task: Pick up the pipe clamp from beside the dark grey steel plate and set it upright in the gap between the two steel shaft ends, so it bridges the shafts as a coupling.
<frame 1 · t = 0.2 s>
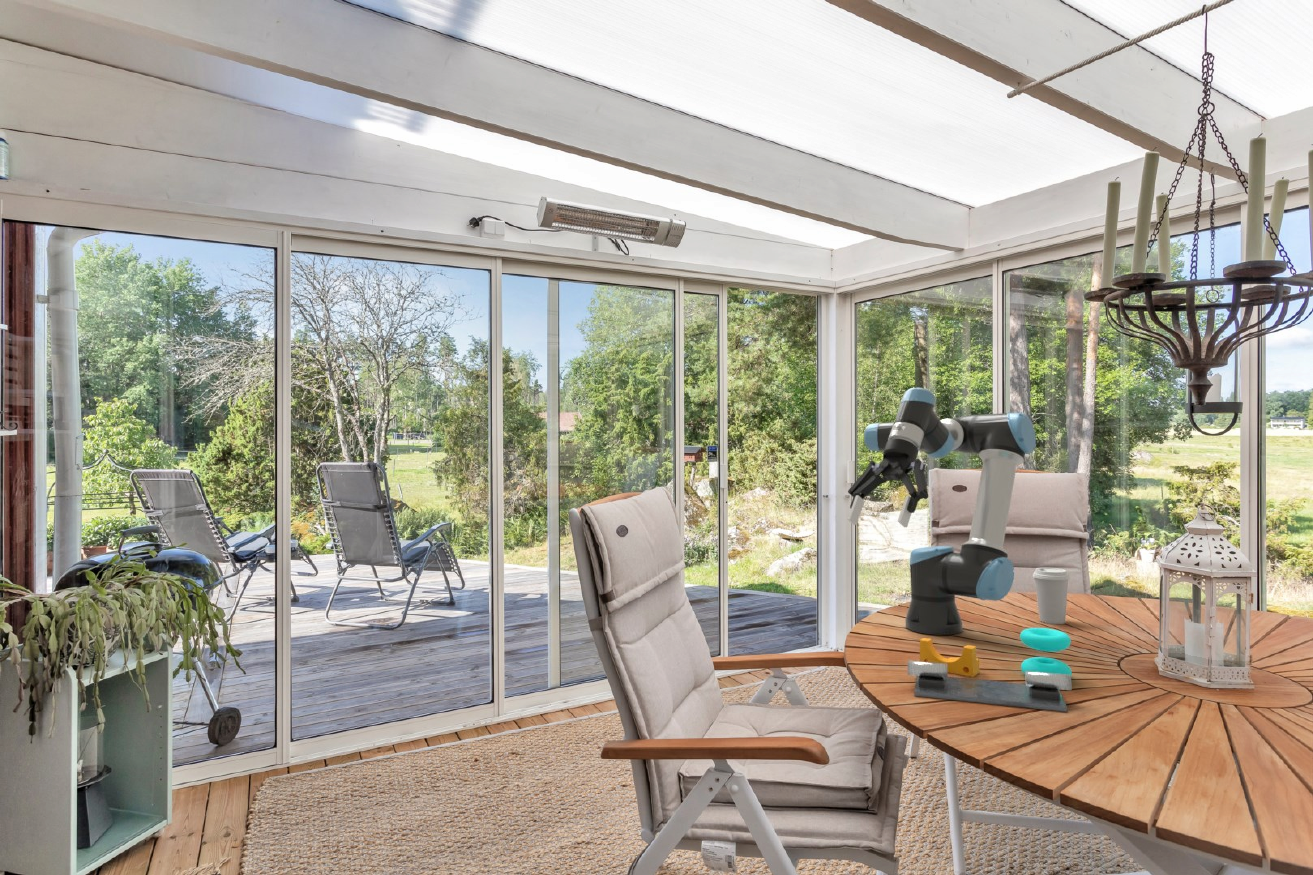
hand: (876, 523, 160), 35 cm above the table, tool tilted 35°, fingers open, 13 cm apart
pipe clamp: (949, 670, 164), on the table
donuts: (1046, 677, 158), on the table
shaft stand: (986, 693, 148), on the table
coffee cup: (1052, 622, 205), on the table
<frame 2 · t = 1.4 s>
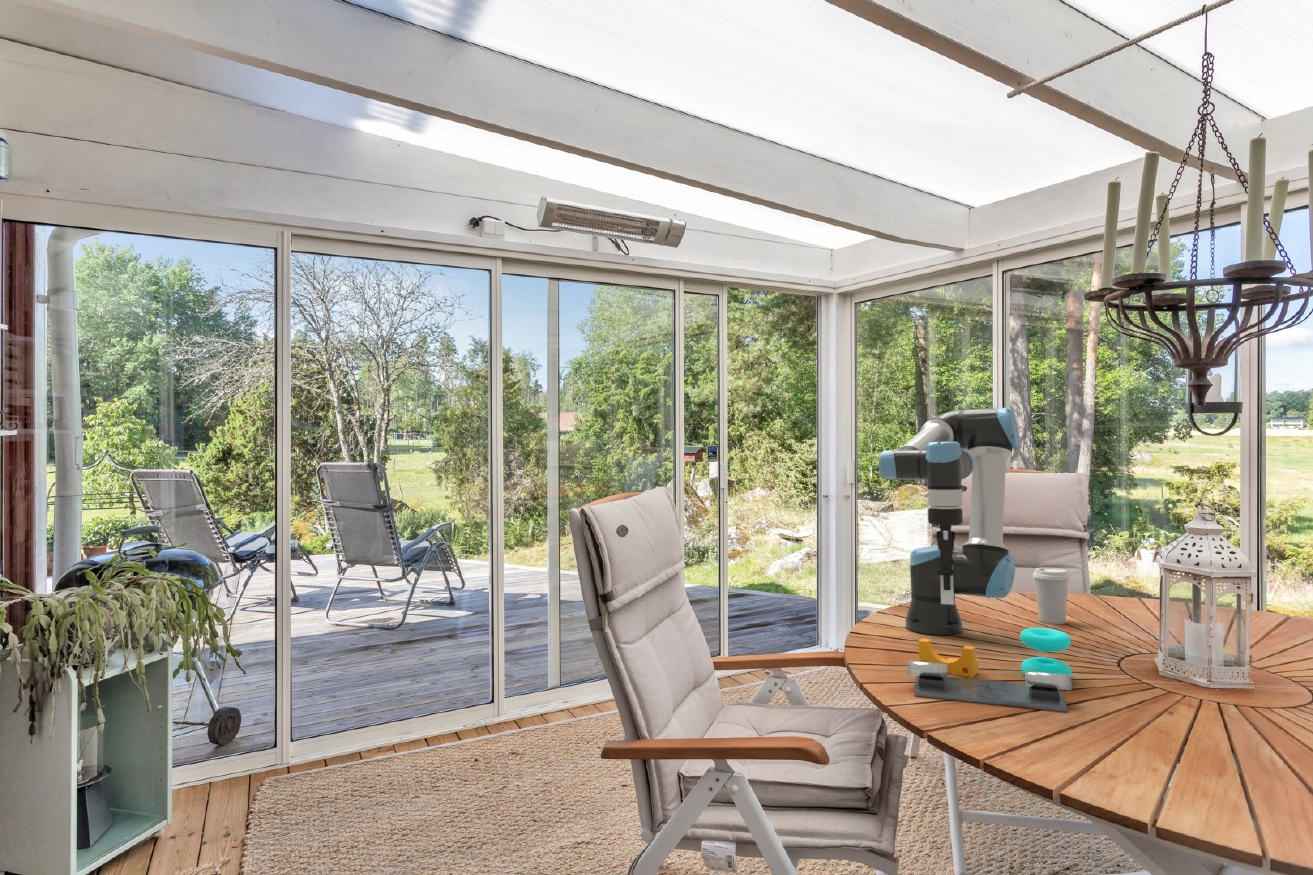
hand: (947, 597, 165), 17 cm above the table, tool pointing down, fingers open, 13 cm apart
nothing on the table moved.
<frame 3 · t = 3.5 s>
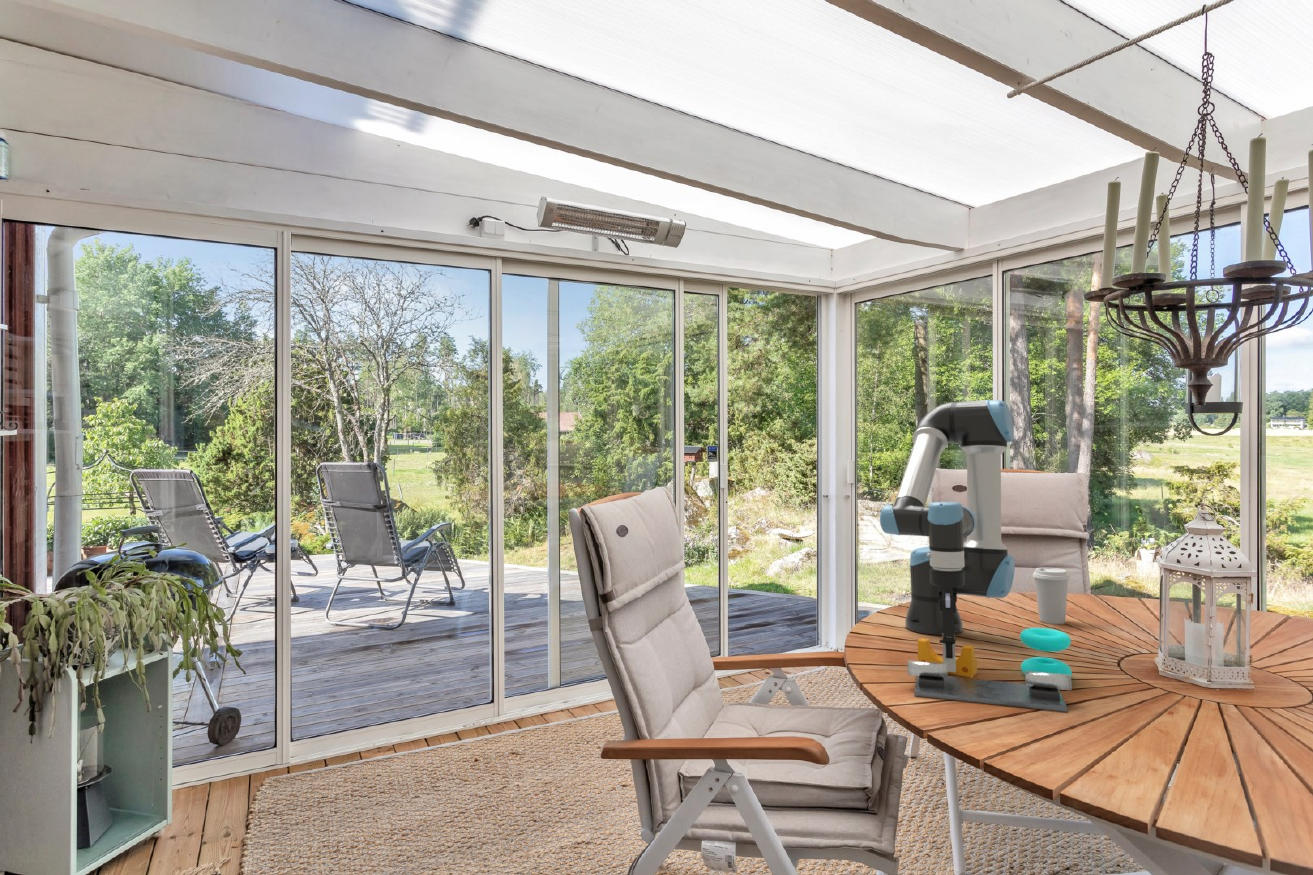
hand: (949, 665, 164), 1 cm above the table, tool pointing down, fingers open, 7 cm apart
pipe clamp: (947, 670, 164), on the table, touching gripper
everything else where it was.
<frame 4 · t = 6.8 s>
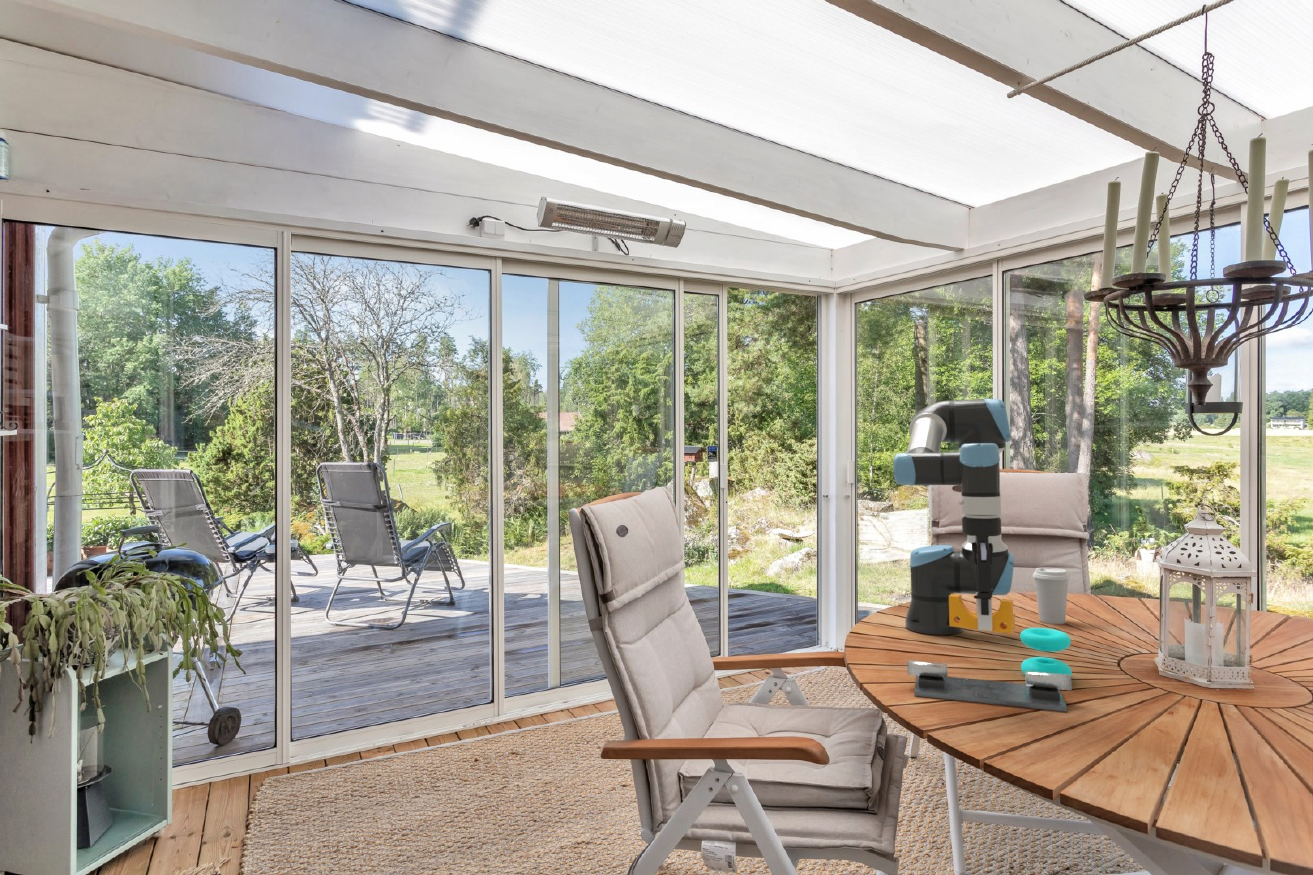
hand: (984, 626, 148), 14 cm above the table, tool pointing down, fingers closed on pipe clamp, 5 cm apart
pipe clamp: (982, 628, 148), point 14 cm above the table, touching gripper
everything else where it was.
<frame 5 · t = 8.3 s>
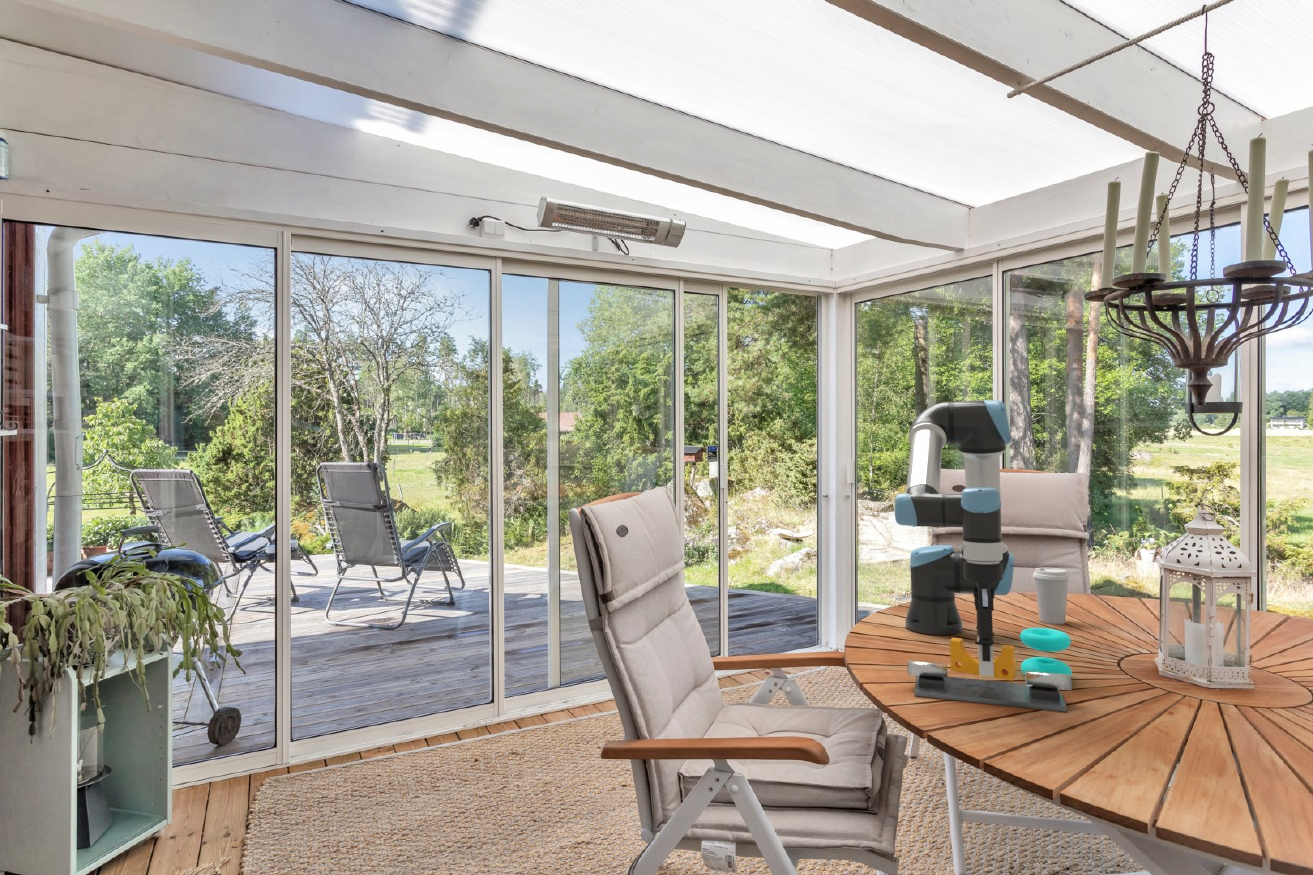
hand: (985, 671, 148), 5 cm above the table, tool pointing down, fingers closed on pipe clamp, 5 cm apart
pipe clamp: (983, 673, 148), point 4 cm above the table, touching gripper
everything else where it was.
when the fingers open (2 cm above the table, at t = 9.5 s): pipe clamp stays where it is, resting on shaft stand.
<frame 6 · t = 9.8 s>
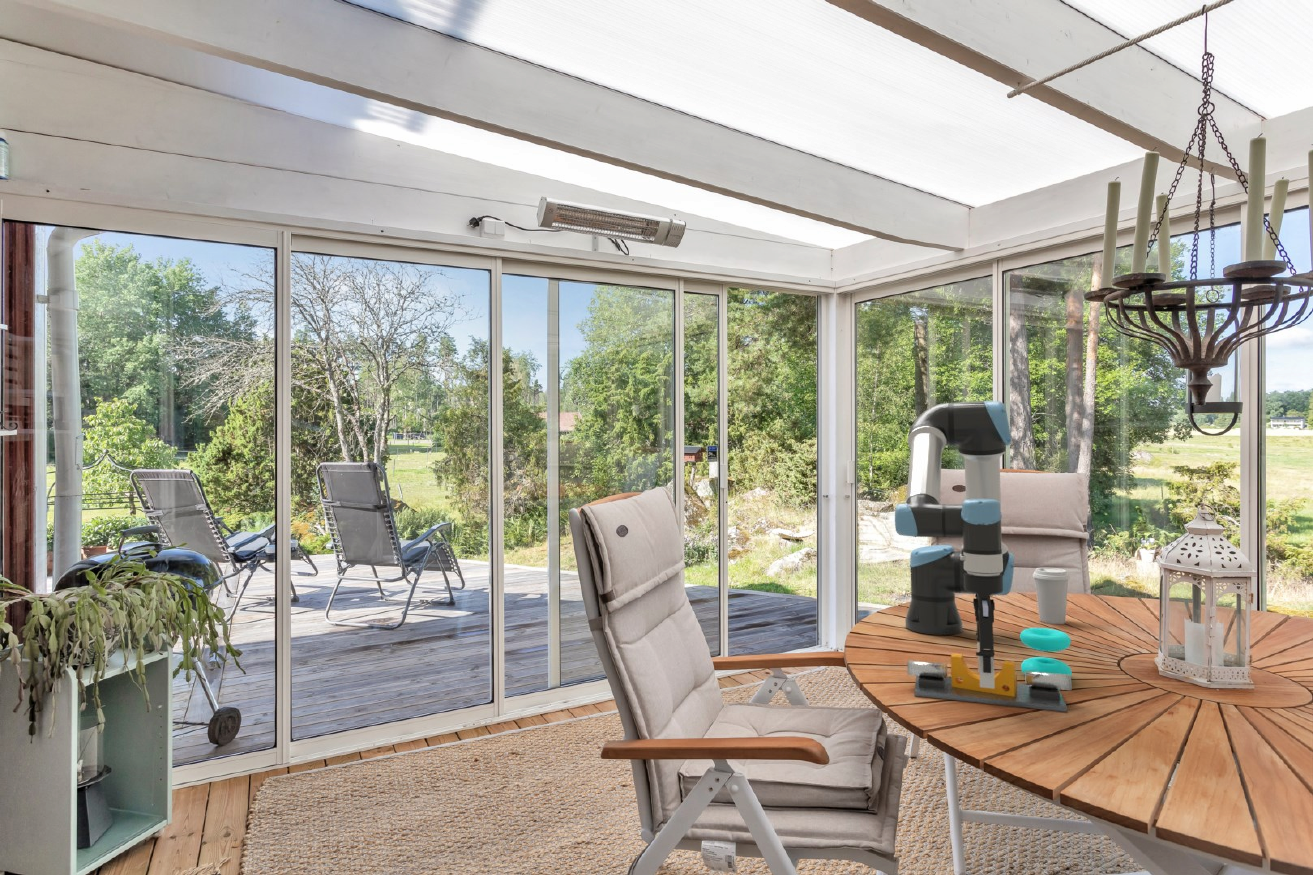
hand: (986, 680, 148), 3 cm above the table, tool pointing down, fingers open, 8 cm apart
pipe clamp: (984, 689, 148), point 1 cm above the table, touching shaft stand
everything else where it was.
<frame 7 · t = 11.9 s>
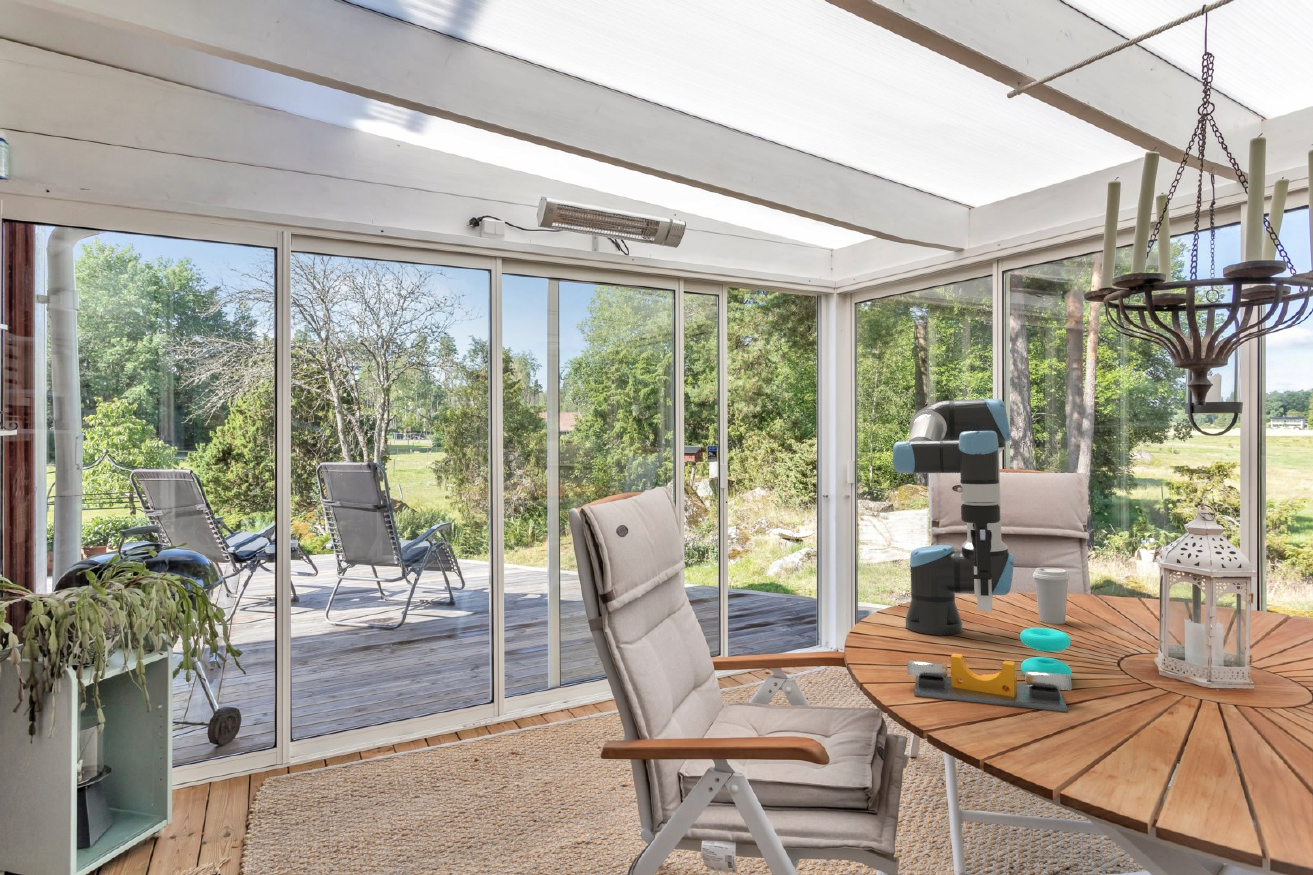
hand: (983, 603, 149), 19 cm above the table, tool pointing down, fingers open, 13 cm apart
nothing on the table moved.
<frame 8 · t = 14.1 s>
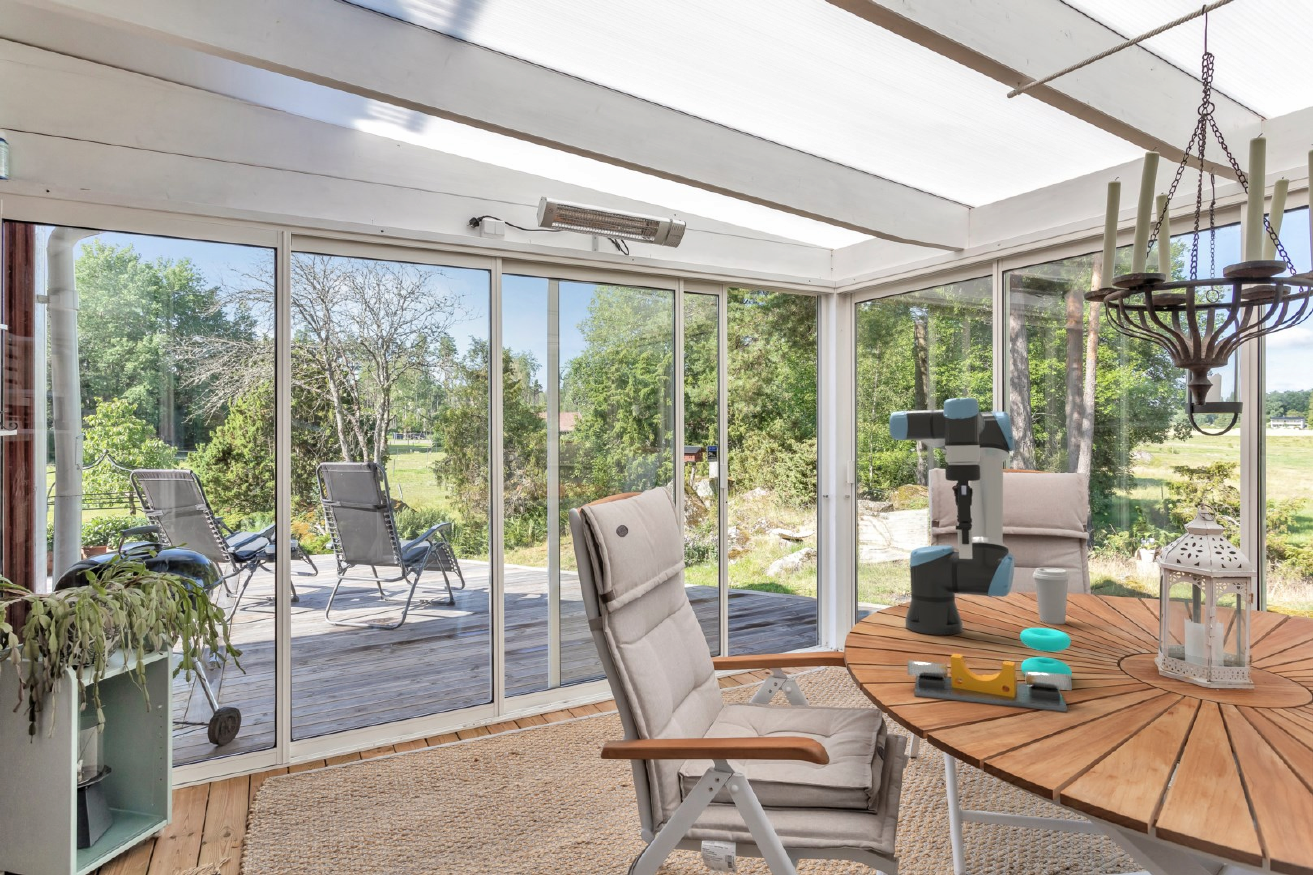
hand: (964, 554, 165), 27 cm above the table, tool pointing down, fingers open, 13 cm apart
nothing on the table moved.
at the end: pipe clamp 0.4 cm off-centre on the shaft stand, point 0.8 cm above the shaft stand's base; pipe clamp tilted 0°; the gripper is holding nothing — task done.
